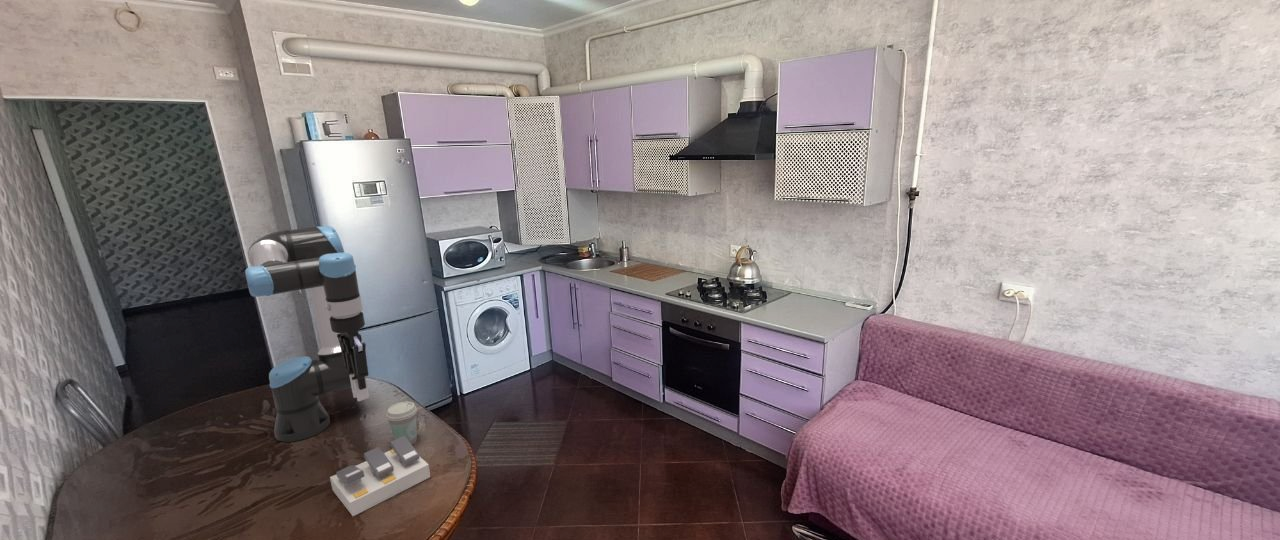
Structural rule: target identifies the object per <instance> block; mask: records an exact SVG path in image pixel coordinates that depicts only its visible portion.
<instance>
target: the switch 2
mask: <svg viewBox="0 0 1280 540" xmlns="http://www.w3.org/2000/svg"><path fill="white" fill-rule="evenodd" d="M384 453H385V452H384V451H383V450H382V448H381V447H380V446H377V447H374V448H373V449H370V450H368V451H366V452H364V453H363V458H364V460H365V461H367V463H368V464H369V466H370V467H371V469H372V470H373V472H374V473H375V474H376V476H377V477H378V478H380V477H383V476H385V475H387V474H389V473H391V472H393V471H394V467H393V465H392V464H391V462H390V461H389V460H388V458H387V457H386V455H385V454H384Z"/></svg>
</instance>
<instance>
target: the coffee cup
mask: <svg viewBox="0 0 1280 540" xmlns="http://www.w3.org/2000/svg"><path fill="white" fill-rule="evenodd" d="M417 413H418V409H417V406H416V405H415V403H414V402H412V401H401V402H397V403H394V404H392V405H390V407H388V409H387V412H386V419H387V420H388V423H389V426H390V429H391V432H392V436H393V440H396V439H398V438H400V437H402V436H405V437H406V438H407V439H408V441H409V442H410V443H411V444H412V446H413V445H415V444H416V443H417V440H418V439H417V438H418V436H417V435H418V433H417V429H418V428H417V425H418V424H417Z"/></svg>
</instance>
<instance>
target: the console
mask: <svg viewBox="0 0 1280 540" xmlns="http://www.w3.org/2000/svg"><path fill="white" fill-rule="evenodd" d="M383 453H384V454H385V455H386V457H387V458H388V460H389V461H390V462H391V464H392V465H393V467H394V471H393V472H391V473H389V474H387V475H385V476H383V477H380V478H378V477H377V476H376V474H375V473H374V472H373V470H372V469H371V467H370V466H369V464H368V463H367V461H366V460H365V461H363V462H361V463H359V464H357V465H354V466H355V467H357V468H359V469H361V470H363V472H364V476H365V477H363V478H360V479H358V480H356V481H354V482H352V483H350V484H346V483H345V482H343V481H342V480H340V479H339V478H337V474H334V475H331V476H330V477H329V480H330V484H331V489H332V492H333V493H334V494H335V496H337V498H338V499H339V501H340V502H341V503H342V505H344V507H345V508H346V509H347V511H348V512H349V513H350V514H351V516H352V517H354V516H355V517H356V516H357V515H359V514H360V513H363V512H364V511H366V510H368V509H370V508H373V507H374V506H377V505H379V504H381V503H383V502H384V501H386V500H388V499H390V498H392V497H395V496H396V495H398V494H400V493H402V492H404V491H406V490H407V489H410V488H412V487H414V486H416V485H417V484H419V483H421V482H424V481H425V480H427V479H429V478H431V473H430V472H431V471H430V465H429V463H428V462H427V461H426V460H424V459H423V458H422V457H421V456H420V455H419V459H418V460H416V461H414V462H412V463H410V464H408V465H406V466H405V465H404V464H403V462H402V461H401V460H400V458H399V457H398V456H397V454H396V453H395V452H394V450H393V449H392V448H391V449H390V450H387V451H385V452H383Z"/></svg>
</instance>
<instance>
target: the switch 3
mask: <svg viewBox="0 0 1280 540" xmlns="http://www.w3.org/2000/svg"><path fill="white" fill-rule="evenodd" d="M389 442H390V443H389V444H390V447H391V450H392V449H393V450H394V452H395V453H396V454H397V456H398V457H399V458H400V460H401V461H402V462H403V464H404V465H405V466H406V465H408V464H410V463H412V462H414V461H416V460H418V459H419V456H420V454H419V451H417V450H416V448H415V447H414V446H413V445H412V444H411V443H410V442H409V441H408V439H407V438H406V437H405V436H402V437H400V438H398V439H396V440H395V439H393V440H391V441H389Z"/></svg>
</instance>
